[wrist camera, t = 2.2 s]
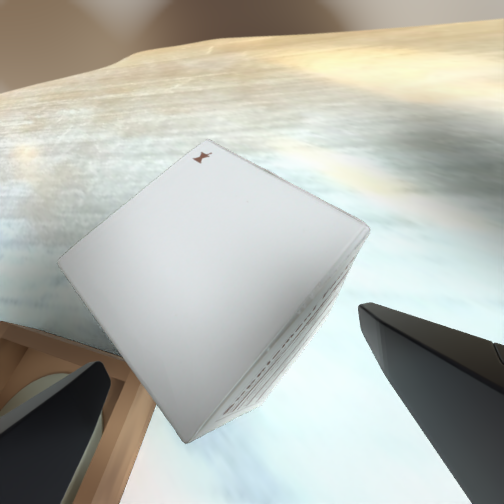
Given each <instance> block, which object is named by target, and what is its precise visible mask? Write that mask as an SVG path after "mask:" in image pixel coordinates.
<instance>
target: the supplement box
mask: <svg viewBox="0 0 504 504" xmlns="http://www.w3.org/2000/svg"><path fill="white" fill-rule="evenodd" d="M369 234H370V227H369V226H368V225H367V224H366V223H365V222H363V221H362V220H360V219H359V218H357V217H354V216H353V215H351V214H349V213H347V212H345V211H343V210H342V209H340V208H338V207H335V206H333V205H331V204H329V203H327V202H326V201H324V200H322V199H320V198H318V197H316V196H315V195H313V194H311V193H309V192H307V191H305V190H303V189H301V188H299V187H298V186H296V185H294V184H292V183H290V182H288V181H286V180H284V179H283V178H281V177H279V176H277V175H276V174H274V173H272V172H270V171H269V170H266V169H264V168H262V167H260V166H258V165H256V164H254V163H252V162H251V161H249V160H247V159H245V158H243V157H241V156H239V155H237V154H235V153H233V152H232V151H230V150H228V149H226V148H224V147H222V146H220V145H219V144H217V143H215V142H214V141H212V140H210V139H206V140H205V141H203V142H202V143H200V144H199V145H198V146H196V147H195V148H193V149H192V150H191V151H189V152H188V153H187V154H186V155H184V156H183V157H182V158H180V159H179V160H178V161H177V162H175V163H174V164H173V165H172V166H170V167H169V168H168V169H167V170H166V171H164V172H163V173H162V174H161V175H160V176H158V177H157V178H156V179H155V180H153V181H152V182H151V183H150V184H148V185H147V186H146V187H145V188H144V189H142V190H141V191H140V192H139V193H138V194H136V195H135V196H134V197H133V198H131V199H130V200H129V201H128V202H126V203H125V204H124V205H123V206H122V207H120V208H119V209H118V210H117V211H115V212H114V213H113V214H112V215H111V216H109V217H108V218H107V219H106V220H104V221H103V222H102V223H101V224H100V225H98V226H97V227H96V228H95V229H93V230H92V231H91V232H90V233H89V234H87V235H86V236H85V237H83V238H82V239H81V240H80V241H78V242H77V243H76V244H75V245H74V246H73V247H71V248H70V249H69V250H68V251H67V252H66V253H65V254H64V255H63V256H62V257H60V258H59V259H58V262H57V264H58V266H59V267H60V269H61V270H62V272H63V273H64V275H65V276H66V278H67V279H68V280H69V282H70V283H71V285H72V286H73V288H74V289H75V291H76V292H77V294H78V295H79V296H80V298H81V299H82V301H83V302H84V303H85V305H86V306H87V308H88V309H89V311H90V312H91V313H92V315H93V316H94V318H95V319H96V320H97V322H98V323H99V325H100V326H101V327H102V329H103V330H104V332H105V333H106V335H107V336H108V337H109V339H110V340H111V342H112V343H113V344H114V346H115V347H116V349H117V350H118V352H119V353H120V354H121V356H122V357H123V359H124V360H125V361H126V363H127V364H128V366H129V367H130V368H131V370H132V371H133V373H134V374H135V375H136V377H137V378H138V379H139V381H140V382H141V384H142V385H143V386H144V388H145V389H146V390H147V392H148V393H149V395H150V396H151V397H152V399H153V400H154V402H155V403H156V404H157V406H158V407H159V409H160V410H161V411H162V413H163V414H164V416H165V417H166V418H167V420H168V421H169V422H170V424H171V425H172V427H173V428H174V429H175V431H176V433H177V434H178V436H179V437H180V439H181V440H182V441H183V442H184V443H185V444H187V443H190V442H192V441H194V440H196V439H198V438H200V437H202V436H203V435H205V434H207V433H209V432H211V431H213V430H215V429H217V428H219V427H221V426H223V425H224V424H226V423H228V422H230V421H232V420H234V419H235V418H237V417H239V416H241V415H243V414H245V413H248V412H249V411H252V410H253V409H256V408H258V407H260V406H261V405H262V404H263V403H264V401H265V400H266V399H267V397H268V396H269V395H270V393H271V392H272V391H273V390H274V388H275V387H276V386H277V384H278V383H279V382H280V380H281V379H282V378H283V377H284V375H285V374H286V373H287V371H288V370H289V369H290V368H291V366H292V365H293V364H294V362H295V361H296V360H297V358H298V357H299V356H300V355H301V353H302V352H303V351H304V349H305V348H306V347H307V345H308V344H309V343H310V341H311V340H312V339H313V337H314V336H315V335H316V333H317V332H318V331H319V329H320V328H321V327H322V325H323V324H324V323H325V321H326V319H327V317H328V315H329V313H330V311H331V309H332V307H333V305H334V303H335V301H336V299H337V296H338V295H339V292H340V290H341V287H342V285H343V283H344V281H345V279H346V277H347V275H348V273H349V270H350V268H351V266H352V264H353V262H354V260H355V258H356V256H357V254H358V252H359V250H360V248H361V247H362V245H363V243H364V242H365V240H366V239H367V237H368V236H369Z"/></svg>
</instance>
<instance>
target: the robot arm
mask: <svg viewBox="0 0 504 504" xmlns="http://www.w3.org/2000/svg"><path fill="white" fill-rule="evenodd" d="M358 313H359V320H360V327H361V331H362V333H363V335H364V337H365V339H366V341H367V343H368V345H369V347H370V348H371V350H372V352H373V354H374V356H375V358H376V360H377V362H378V363H379V365H380V367H381V369H382V371H383V373H384V374H385V376H386V378H387V379H388V381H389V382H390V384H391V385H392V387H393V388H394V390H395V391H396V393H397V394H398V396H399V397H400V398H401V400H402V401H403V403H404V404H405V406H406V407H407V409H408V410H409V412H410V413H411V415H412V416H413V418H414V419H415V421H416V422H417V423H418V425H419V426H420V428H421V429H422V431H423V432H424V434H425V435H426V437H427V438H428V440H429V441H430V443H431V444H432V446H433V447H434V448H435V450H436V451H437V453H438V454H439V456H440V457H441V459H442V460H443V462H444V463H445V465H446V466H447V468H448V469H449V471H450V472H451V473H452V475H453V476H454V478H455V479H456V481H457V482H458V484H459V485H460V487H461V488H462V490H463V491H464V493H465V494H466V495H467V497H468V498H469V500H470V501H471V503H472V504H504V345H501V344H498V343H492V342H491V341H489V340H486V339H483V338H480V337H477V336H474V335H470V334H467V333H464V332H461V331H458V330H455V329H452V328H449V327H446V326H443V325H440V324H436V323H433V322H430V321H427V320H424V319H421V318H418V317H415V316H412V315H409V314H406V313H403V312H399V311H396V310H393V309H390V308H387V307H384V306H381V305H378V304H375V303H371V302H369V303H365V304H360V305H359V306H358ZM110 386H111V379H110V377H109V375H108V373H107V371H106V369H105V367H104V365H103V363H102V362H101V361H95V362H90V363H87V364H85V365H84V366H82V367H80V368H79V369H77V370H76V371H74V372H72V373H71V374H69V375H68V376H66V377H64V378H63V379H61V380H60V381H58V382H56V383H55V384H53V385H51V386H50V387H48V388H47V389H45V390H43V391H42V392H40V393H39V394H37V395H35V396H34V397H32V398H31V399H29V400H27V401H26V402H24V403H23V404H21V405H19V406H18V407H16V408H15V409H13V410H11V411H10V412H8V413H7V414H5V415H3V416H2V417H0V504H61V502H62V500H63V498H64V496H65V493H66V491H67V489H68V487H69V485H70V483H71V481H72V478H73V476H74V474H75V472H76V470H77V468H78V465H79V463H80V461H81V459H82V457H83V455H84V452H85V450H86V448H87V446H88V444H89V442H90V439H91V437H92V435H93V432H94V430H95V427H96V425H97V422H98V419H99V417H100V414H101V411H102V408H103V406H104V403H105V400H106V398H107V395H108V392H109V389H110Z"/></svg>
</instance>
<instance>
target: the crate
mask: <svg viewBox="0 0 504 504" xmlns="http://www.w3.org/2000/svg"><path fill="white" fill-rule="evenodd" d="M95 361H101V362H102V363H103V365H104V367H105V369H106V371H107V373H108V375H109V377H110V379H111V386H110V389H109V392H108V395H107V398H106V400H105V403H104V406H103V408H102V411H101V414H100V417H99V419H98V422H97V425H96V427H95V430H94V432H93V435H92V437H91V439H90V442H89V444H88V446H87V448H86V450H85V452H84V455H83V457H82V459H81V461H80V463H79V465H78V468H77V470H76V472H75V474H74V476H73V478H72V481H71V483H70V485H69V487H68V489H67V491H66V493H65V496H64V498H63V500H62V502H61V504H119V503H120V500H121V497H122V495H123V492H124V489H125V487H126V484H127V481H128V479H129V476H130V473H131V471H132V468H133V465H134V462H135V460H136V457H137V454H138V452H139V449H140V446H141V444H142V441H143V438H144V436H145V433H146V430H147V428H148V425H149V422H150V420H151V417H152V414H153V412H154V409H155V406H156V403H155V402H154V400H153V399H152V397H151V396H150V395H149V393H148V392H147V390H146V389H145V388H144V386H143V385H142V384H141V382H140V381H139V379H138V378H137V377H136V375H135V374H134V373H133V371H132V370H131V368H130V367H129V366H128V364H127V363H126V361H125V360H124V359H123V357H121V356H118V355H115V354H112V353H109V352H106V351H103V350H100V349H97V348H94V347H91V346H87V345H84V344H81V343H78V342H75V341H72V340H69V339H66V338H63V337H60V336H57V335H54V334H51V333H47V332H44V331H41V330H38V329H34V328H30V327H25V326H21V325H17V324H12V323H8V322H4V321H1V322H0V417H2V416H3V415H5V414H7V413H8V412H10V411H11V410H13V409H15V408H16V407H18V406H19V405H21V404H23V403H24V402H26V401H27V400H29V399H31V398H32V397H34V396H35V395H37V394H39V393H40V392H42V391H43V390H45V389H47V388H48V387H50V386H51V385H53V384H55V383H56V382H58V381H60V380H61V379H63V378H64V377H66V376H68V375H69V374H71V373H72V372H74V371H76V370H77V369H79V368H80V367H82V366H84V365H85V364H87V363H90V362H95Z"/></svg>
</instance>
